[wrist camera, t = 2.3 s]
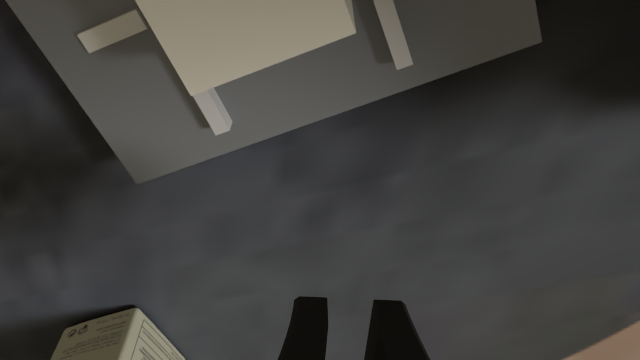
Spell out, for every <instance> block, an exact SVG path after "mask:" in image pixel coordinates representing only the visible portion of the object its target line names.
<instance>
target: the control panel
mask: <svg viewBox="0 0 640 360" xmlns="http://www.w3.org/2000/svg"><path fill="white" fill-rule="evenodd" d="M5 1H6V2H7V3H8V5H9V6H10V8H11V9H12V10H13V12H14V13H15V15H16V16H17V17H18V19H19V20H20V22H21V23H22V24H23V26H24V27H25V29H26V30H27V31H28V33H29V34H30V35H31V37H32V38H33V40H34V41H35V42H36V44H37V45H38V47H39V48H40V49H41V51H42V52H43V54H44V55H45V56H46V58H47V59H48V61H49V62H50V63H51V65H52V66H53V68H54V69H55V70H56V72H57V73H58V75H59V76H60V77H61V79H62V80H63V82H64V83H65V84H66V86H67V87H68V89H69V90H70V91H71V93H72V94H73V96H74V97H75V98H76V100H77V101H78V103H79V104H80V105H81V107H82V108H83V110H84V111H85V112H86V114H87V115H88V117H89V118H90V119H91V121H92V122H93V124H94V125H95V126H96V128H97V129H98V130H99V132H100V133H101V135H102V136H103V137H104V139H105V140H106V142H107V143H108V144H109V146H110V147H111V149H112V150H113V151H114V153H115V154H116V156H117V157H118V158H119V160H120V161H121V163H122V164H123V165H124V167H125V168H126V170H127V171H128V172H129V174H130V175H131V177H132V178H133V179H134V181H135V182H136V184H140V183H143V182H145V181H148V180H151V179H154V178H157V177H160V176H163V175H165V174H168V173H171V172H174V171H177V170H180V169H182V168H185V167H188V166H191V165H194V164H197V163H200V162H202V161H205V160H208V159H211V158H214V157H217V156H219V155H222V154H225V153H228V152H231V151H234V150H237V149H239V148H242V147H245V146H248V145H251V144H254V143H256V142H259V141H262V140H265V139H268V138H271V137H274V136H276V135H279V134H282V133H285V132H288V131H291V130H293V129H296V128H299V127H302V126H305V125H308V124H310V123H313V122H316V121H319V120H322V119H325V118H328V117H330V116H333V115H336V114H339V113H342V112H345V111H347V110H350V109H353V108H356V107H359V106H362V105H365V104H367V103H370V102H373V101H376V100H379V99H382V98H384V97H387V96H390V95H393V94H396V93H399V92H402V91H404V90H407V89H410V88H413V87H416V86H419V85H421V84H424V83H427V82H430V81H433V80H436V79H439V78H441V77H444V76H447V75H450V74H453V73H456V72H458V71H461V70H464V69H467V68H470V67H473V66H476V65H478V64H481V63H484V62H487V61H490V60H493V59H495V58H498V57H501V56H504V55H507V54H510V53H513V52H515V51H518V50H521V49H524V48H527V47H530V46H532V45H535V44H538V43H541V42H542V37H541V31H540V26H539V20H538V14H537V8H536V3H535V0H352V7H353V14H354V20H355V27H356V33H355V34H353V35H350V36H347V37H345V38H342V39H339V40H337V41H334V42H332V43H329V44H326V45H324V46H321V47H319V48H316V49H313V50H311V51H308V52H305V53H303V54H300V55H298V56H295V57H292V58H290V59H287V60H285V61H282V62H279V63H277V64H274V65H271V66H269V67H266V68H264V69H261V70H258V71H256V72H253V73H251V74H248V75H245V76H243V77H240V78H237V79H235V80H232V81H230V82H227V83H224V84H222V85H219V86H217V87H214V88H211V89H209V90H206V91H203V92H201V93H198V94H196V95H193V96H191V95H190V94H189V92H188V90H187V89H186V87H185V85H184V83H183V82H182V80H181V78H180V77H179V75H178V73H177V71H176V70H175V68H174V66H173V65H172V63H171V61H170V59H169V58H168V56H167V54H166V53H165V51H164V49H163V47H162V46H161V44H160V42H159V41H158V39H157V37H156V35H155V34H154V32H153V30H152V29H151V27H150V25H149V23H148V22H147V20H146V18H145V17H144V15H143V13H142V11H141V10H140V8H139V6H138V5H137V3H136V1H135V0H5Z"/></svg>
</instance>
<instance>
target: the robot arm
mask: <svg viewBox="0 0 640 360" xmlns="http://www.w3.org/2000/svg"><path fill="white" fill-rule="evenodd" d="M327 333H328V308H327V298H324V297H301V296H300V297H298V298H296V299H295V300H294V306H293V312H292V317H291V321H290V325H289V328H288V332H287V335H286V338H285V341H284V344H283V347H282V350H281V353H280V355H279V358H278V360H325V354H326V343H327ZM364 360H430V358H429V356H428V354H427V352H426V350H425V348H424V346H423V344H422V342H421V340H420V338H419V336H418V334H417V332H416V329H415V327H414V325H413V323H412V320H411V318H410V316H409V313H408V311H407V308H406V305H405V304H404V303H403V302H402V301H393V300H374V302H373V308H372V314H371V320H370V327H369V333H368V339H367V345H366V352H365V358H364Z"/></svg>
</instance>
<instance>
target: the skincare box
mask: <svg viewBox="0 0 640 360" xmlns="http://www.w3.org/2000/svg"><path fill="white" fill-rule="evenodd" d="M51 360H185V358H184V357H183V356H182V355H181V354H180V353H179V352H178V351H177V350H176V348H175V347H174V346H173V345H172V344H171V343H170V342H169V341H168V339H167V338H166V337H165V336H164V335H163V334H162V333H161V332H160V331H159V330H158V329H157V327H156V326H155V325H154V324H153V323H152V322H151V321H150V320H149V319H148V318H147V317H146V316H145V315H144V314H143V312H142V311H141V310H140V309H138V308H132V309H129V310H125V311H121V312H118V313H114V314H110V315H107V316H103V317H100V318H97V319H93V320H90V321H87V322H83V323H81V324H77V325H75V326H72V327H69V328H66V329H65V330H64V332H63V334H62V336H61V338H60V341H59V343H58V345H57V347H56V349H55V351H54V353H53V355H52V358H51Z"/></svg>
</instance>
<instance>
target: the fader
mask: <svg viewBox="0 0 640 360" xmlns="http://www.w3.org/2000/svg"><path fill="white" fill-rule="evenodd" d="M135 1H136V3H137V5H138V6H139V8H140V10H141V11H142V13H143V15H144V17H145V18H146V20H147V22H148V23H149V25H150V27H151V29H152V30H153V32H154V34H155V35H156V37H157V39H158V41H159V42H160V44H161V46H162V47H163V49H164V51H165V53H166V54H167V56H168V58H169V59H170V61H171V63H172V65H173V66H174V68H175V70H176V71H177V73H178V75H179V77H180V78H181V80H182V82H183V83H184V85H185V87H186V89H187V90H188V92H189V94H190V95H191V96H193V95H196V94H198V93H201V92H203V91H206V90H209V89H211V88H214V87H217V86H219V85H222V84H224V83H227V82H230V81H232V80H235V79H237V78H240V77H243V76H245V75H248V74H251V73H253V72H256V71H258V70H261V69H264V68H266V67H269V66H271V65H274V64H277V63H279V62H282V61H285V60H287V59H290V58H292V57H295V56H298V55H300V54H303V53H305V52H308V51H311V50H313V49H316V48H319V47H321V46H324V45H326V44H329V43H332V42H334V41H337V40H339V39H342V38H345V37H347V36H350V35H353V34H355V33H356V27H355V20H354V14H353V7H352V0H135Z"/></svg>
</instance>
